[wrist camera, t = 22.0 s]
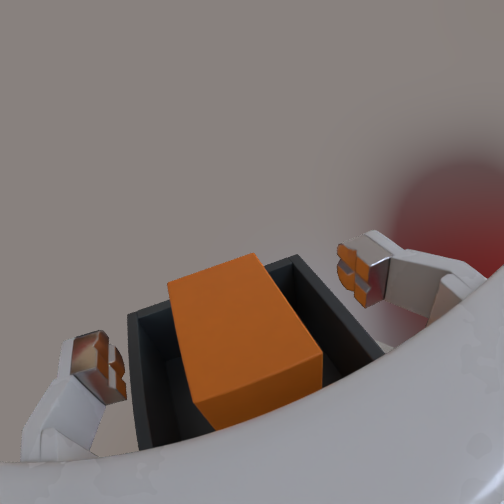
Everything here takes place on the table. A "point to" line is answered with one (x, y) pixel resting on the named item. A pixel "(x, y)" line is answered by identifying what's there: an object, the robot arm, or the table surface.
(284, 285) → the dark gray open bin
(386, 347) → the table surface
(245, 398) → the block
